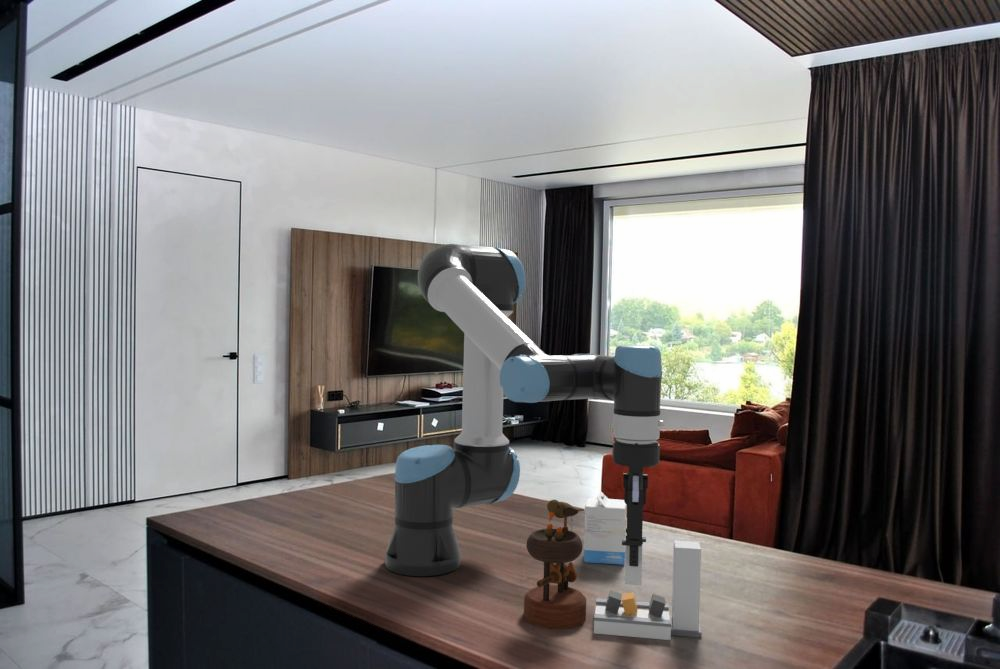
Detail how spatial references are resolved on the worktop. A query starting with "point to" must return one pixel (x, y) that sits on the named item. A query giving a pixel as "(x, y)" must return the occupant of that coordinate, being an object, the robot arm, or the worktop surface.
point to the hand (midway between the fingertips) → (633, 583)
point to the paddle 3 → (656, 605)
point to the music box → (556, 574)
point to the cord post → (686, 589)
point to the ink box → (605, 530)
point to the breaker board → (632, 622)
